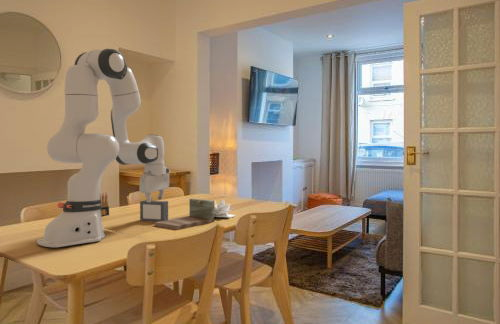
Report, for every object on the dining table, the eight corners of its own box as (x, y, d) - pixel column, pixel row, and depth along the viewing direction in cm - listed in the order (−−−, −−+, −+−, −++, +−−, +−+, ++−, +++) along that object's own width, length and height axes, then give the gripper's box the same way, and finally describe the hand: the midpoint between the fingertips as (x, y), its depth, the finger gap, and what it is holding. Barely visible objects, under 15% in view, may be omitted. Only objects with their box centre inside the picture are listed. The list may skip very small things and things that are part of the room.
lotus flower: (234, 219, 169) (234, 201, 169) (202, 219, 170) (202, 201, 169) (235, 214, 184) (235, 197, 184) (206, 214, 184) (206, 197, 184)
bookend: (177, 229, 146) (177, 206, 146) (154, 225, 154) (154, 203, 154) (214, 221, 164) (214, 200, 163) (191, 218, 172) (191, 198, 172)
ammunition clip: (90, 220, 168) (89, 194, 168) (87, 219, 169) (87, 193, 169) (109, 216, 178) (109, 192, 178) (106, 216, 179) (106, 192, 178)
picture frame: (163, 222, 163) (163, 202, 163) (140, 221, 166) (140, 201, 166) (168, 220, 167) (168, 201, 167) (145, 219, 170) (144, 200, 170)
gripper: (148, 172, 155) (148, 204, 156) (171, 169, 175) (171, 197, 176) (135, 171, 157) (135, 203, 158) (160, 169, 177) (160, 197, 177)
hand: (155, 200), depth 167 cm, fingers open, 8 cm apart
